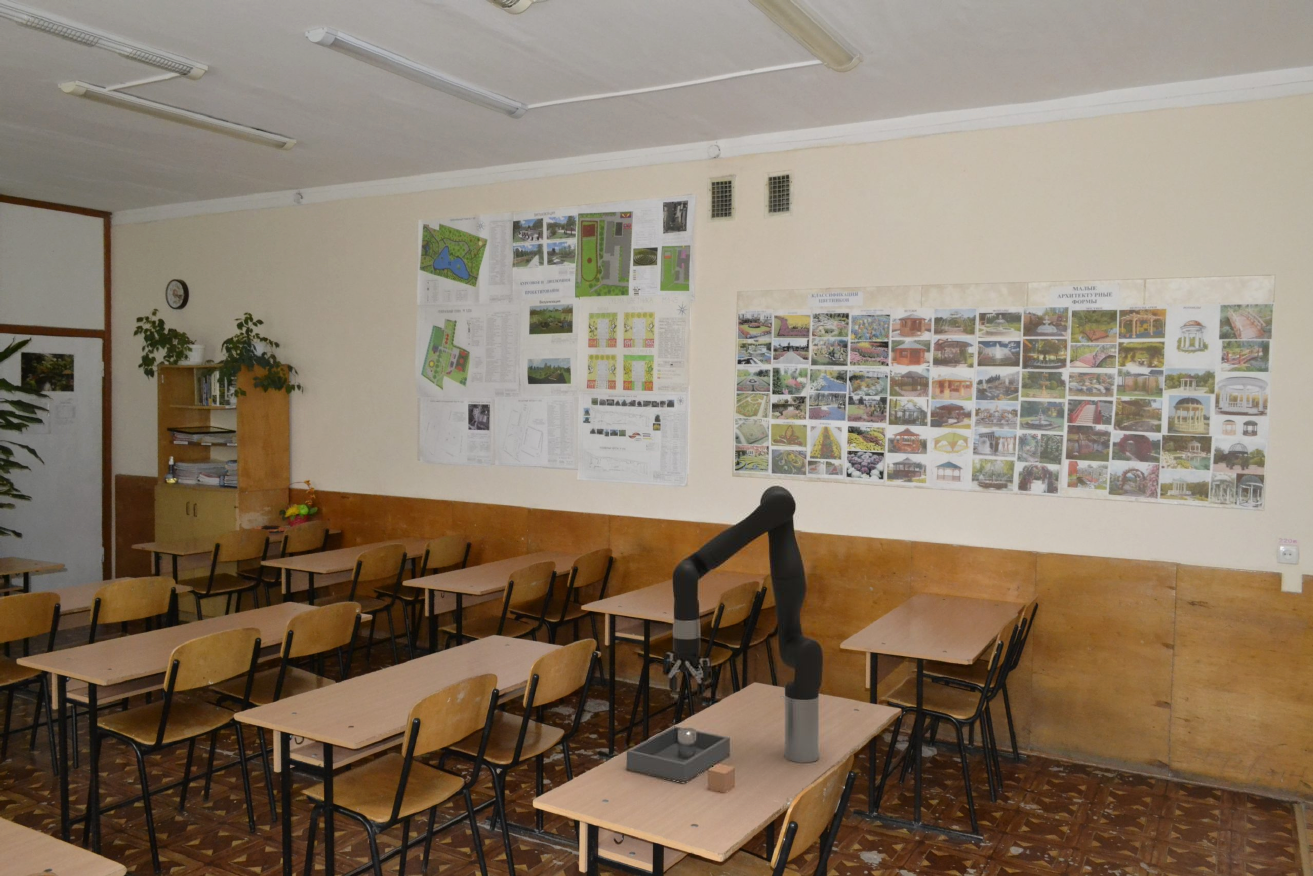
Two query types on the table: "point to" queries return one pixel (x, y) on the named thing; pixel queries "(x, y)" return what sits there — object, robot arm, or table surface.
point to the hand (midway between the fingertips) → (687, 693)
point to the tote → (663, 755)
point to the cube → (721, 778)
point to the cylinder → (686, 743)
